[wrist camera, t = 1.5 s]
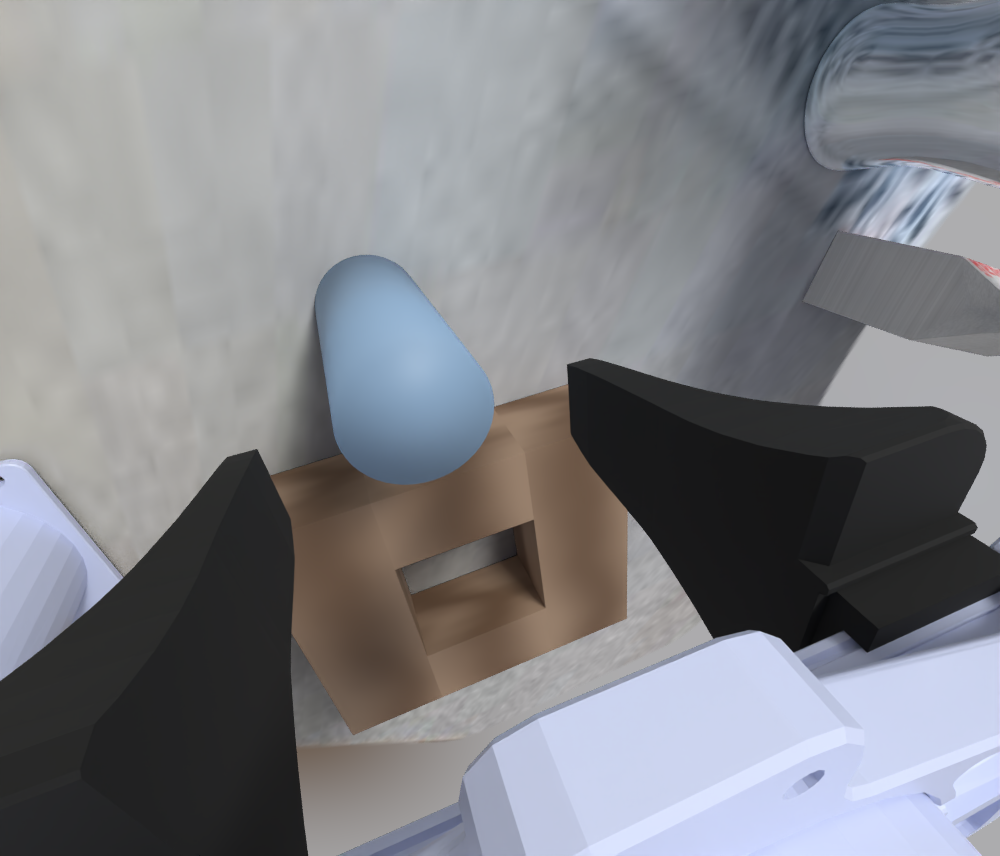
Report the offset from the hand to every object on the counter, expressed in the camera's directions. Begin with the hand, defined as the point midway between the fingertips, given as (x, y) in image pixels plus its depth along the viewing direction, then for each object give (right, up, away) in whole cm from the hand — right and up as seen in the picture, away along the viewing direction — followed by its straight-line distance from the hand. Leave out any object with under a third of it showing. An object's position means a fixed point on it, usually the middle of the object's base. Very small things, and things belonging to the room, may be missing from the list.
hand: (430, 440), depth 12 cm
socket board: (-1, -5, +15) cm, 16 cm away
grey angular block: (+21, +9, +17) cm, 28 cm away
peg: (-3, +5, +8) cm, 10 cm away
